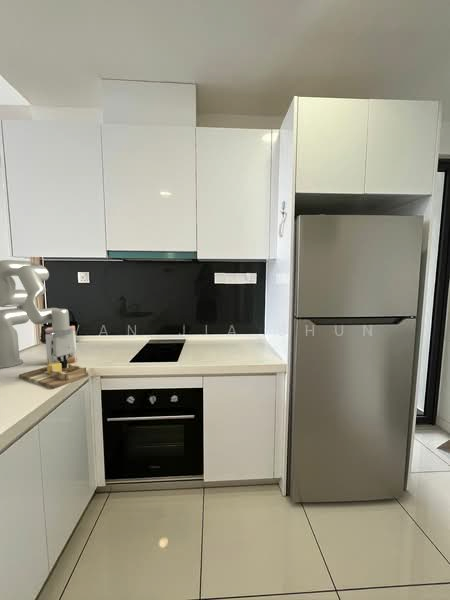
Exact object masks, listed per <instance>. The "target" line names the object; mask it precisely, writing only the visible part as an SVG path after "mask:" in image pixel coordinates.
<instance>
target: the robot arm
mask: <svg viewBox="0 0 450 600" xmlns="http://www.w3.org/2000/svg"><path fill="white" fill-rule="evenodd" d="M13 277H18V279H19V280H20V283H21V284H22V287H23V288H24V289H21V288H20V289H16V288H17V287H16V285H17V284H16V280H15V279H14V278H13ZM49 277H50V272H49V270H48V269H47V268H46V267H45V266H44V265H41V264H38V263H36V262H34V261H29V260H14V259H13V260H12V259H4V260H3V259H2V260H0V307H1V308H5V309H0V369H3V368H4V369H5V368H11V367H17V366H19V365H21V364H23V363H24V360H23V359H21V357H20V347H19V334H18V332H17V330H16V328H15V327H14V326H17V325H22V324H26V323H28V322H29V320H30V322H31V323H33V324H34V325H39V326H40V325H44V324H51V327H52V330H53V331H52V333H50V335H53V337H52V338H51V355H52V359H57V360H58V361H60V363H61V365H62V368H63V369H65V368H68V363H67V360H68V358H69V356H70V355H72V354H74V352H75V347H74V341H73V337H72V334H70V327H69V326H70V315H69V314H70V313H69V310H68V308H58V307H50V308H49V307H47V308H40V309H39V308H38V306H37V304H36V302H35V301H36V299H37V298H39V297H41V296H43V295H44V294H45V293H46V292H47V288H46V287H45V284H44V283H43V282H45V281H47V280H48V279H49ZM12 307H13V308H12ZM14 307H15V308H14Z"/></svg>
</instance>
